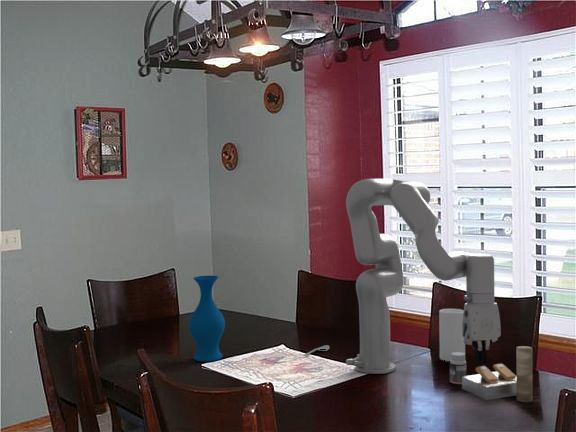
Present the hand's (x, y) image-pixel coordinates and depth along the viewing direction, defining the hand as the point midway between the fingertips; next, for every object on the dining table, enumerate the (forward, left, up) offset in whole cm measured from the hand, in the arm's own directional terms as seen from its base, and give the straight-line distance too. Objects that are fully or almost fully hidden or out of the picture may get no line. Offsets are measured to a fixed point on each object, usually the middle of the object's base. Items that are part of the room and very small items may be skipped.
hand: (480, 363), depth 186 cm
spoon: (-27, +58, -8) cm, 64 cm away
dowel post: (+5, -12, -8) cm, 15 cm away
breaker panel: (+3, -2, -8) cm, 8 cm away
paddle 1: (0, -2, -3) cm, 4 cm away
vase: (-61, +68, -8) cm, 92 cm away
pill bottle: (-1, +9, -8) cm, 12 cm away
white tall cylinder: (+13, +32, -8) cm, 35 cm away
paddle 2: (+6, -2, -3) cm, 7 cm away
